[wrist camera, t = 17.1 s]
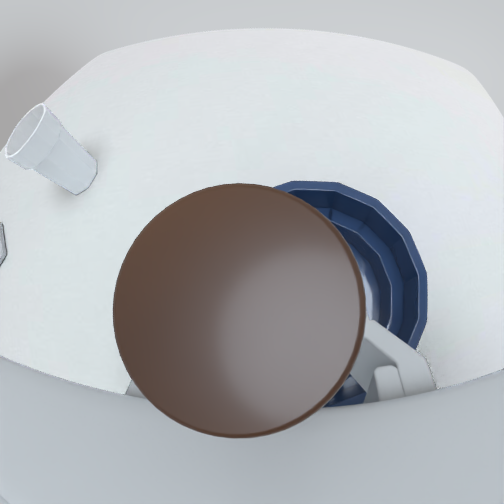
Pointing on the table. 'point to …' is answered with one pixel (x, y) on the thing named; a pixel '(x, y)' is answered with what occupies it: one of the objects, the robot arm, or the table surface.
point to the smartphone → (2, 244)
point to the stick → (239, 311)
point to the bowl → (373, 264)
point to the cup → (50, 150)
